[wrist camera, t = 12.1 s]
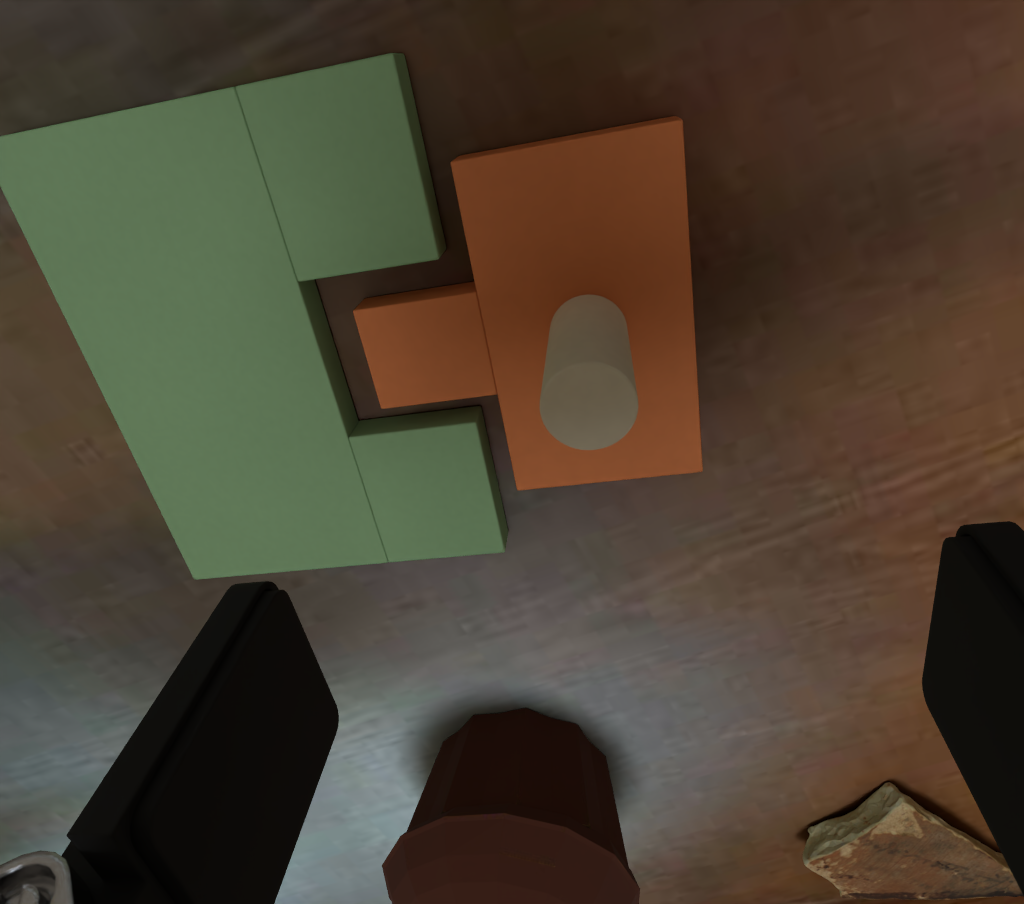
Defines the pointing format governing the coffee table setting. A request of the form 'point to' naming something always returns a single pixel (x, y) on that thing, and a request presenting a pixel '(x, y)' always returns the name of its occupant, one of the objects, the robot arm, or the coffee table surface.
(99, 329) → the notch pad
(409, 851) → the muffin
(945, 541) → the robot arm
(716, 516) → the coffee table surface
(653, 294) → the tab pad
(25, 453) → the coffee table surface
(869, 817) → the shard
